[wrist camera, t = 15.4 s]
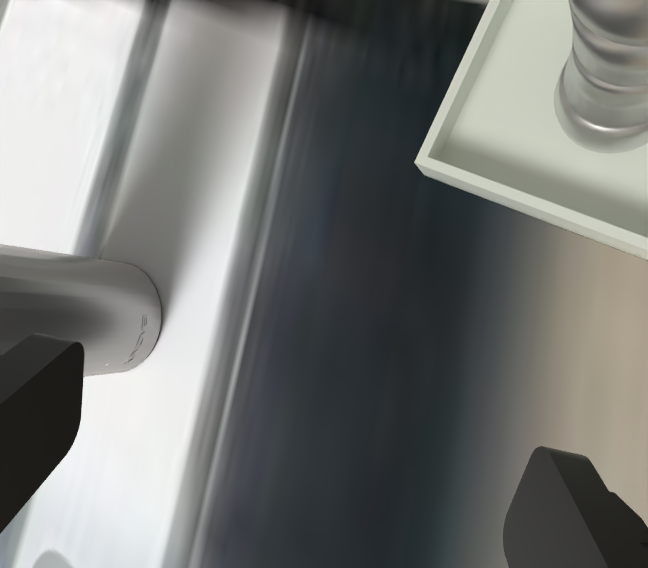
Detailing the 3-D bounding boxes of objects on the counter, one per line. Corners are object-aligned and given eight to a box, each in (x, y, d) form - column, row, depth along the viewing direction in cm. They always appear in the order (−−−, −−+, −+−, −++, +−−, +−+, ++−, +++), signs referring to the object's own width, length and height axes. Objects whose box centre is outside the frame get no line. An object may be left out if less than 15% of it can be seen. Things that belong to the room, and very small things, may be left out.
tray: (424, 175, 36) (414, 162, 33) (525, -41, 35) (523, -73, 32) (719, 288, 29) (737, 284, 27) (860, 27, 28) (895, -6, 25)
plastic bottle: (533, 95, 33) (520, -194, 15) (646, 30, 31) (794, -401, 13) (585, 184, 32) (641, -14, 13) (706, 123, 30) (974, -213, 11)
